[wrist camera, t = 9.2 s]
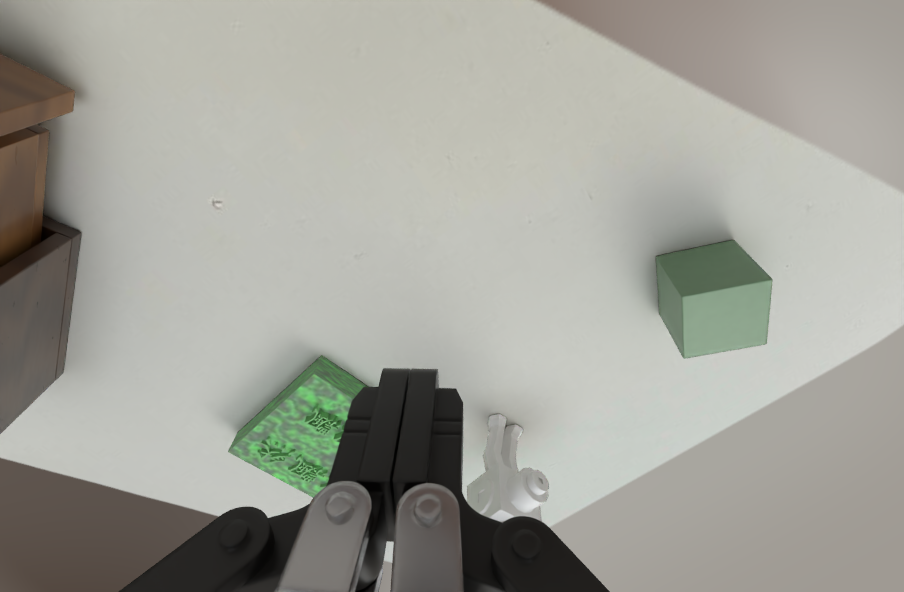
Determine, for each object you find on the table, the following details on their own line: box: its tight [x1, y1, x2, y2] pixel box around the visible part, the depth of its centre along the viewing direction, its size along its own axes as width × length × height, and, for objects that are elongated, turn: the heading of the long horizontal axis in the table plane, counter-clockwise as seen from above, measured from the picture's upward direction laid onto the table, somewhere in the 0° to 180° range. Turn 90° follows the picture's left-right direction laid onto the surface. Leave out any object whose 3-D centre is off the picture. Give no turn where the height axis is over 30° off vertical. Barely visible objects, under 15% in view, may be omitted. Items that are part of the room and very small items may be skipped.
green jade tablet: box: [228, 356, 368, 498], centre depth 39 cm, size 11×12×2 cm
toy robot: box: [467, 414, 549, 523], centre depth 34 cm, size 4×8×12 cm, turn 143°
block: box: [656, 240, 772, 358], centre depth 28 cm, size 4×4×4 cm
